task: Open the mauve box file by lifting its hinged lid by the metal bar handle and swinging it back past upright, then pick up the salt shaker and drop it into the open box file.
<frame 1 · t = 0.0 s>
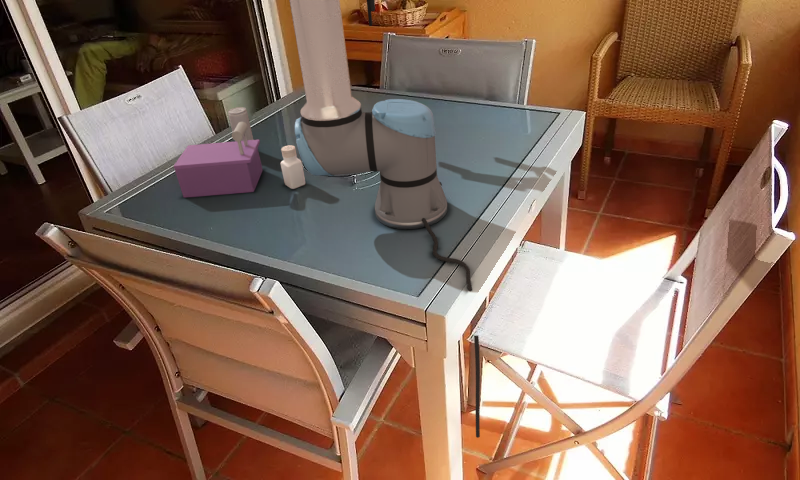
hand: (344, 27, 149), 28 cm above the table, tool pointing down, fingers open, 13 cm apart
beverage can: (247, 153, 156), on the table
file box: (224, 183, 141), on the table
salt shaker: (295, 185, 137), on the table
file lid: (215, 142, 135), point 11 cm above the table, hinge at 0.0°
pepper mill: (341, 127, 166), on the table
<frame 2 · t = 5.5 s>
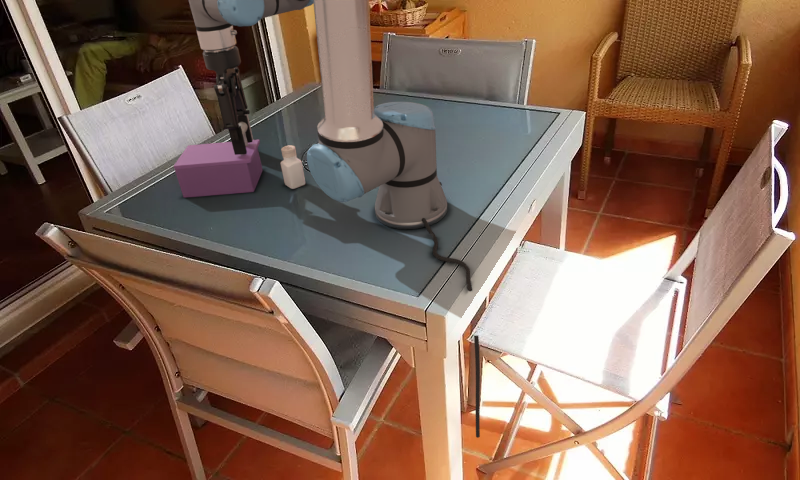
hand: (243, 147, 136), 9 cm above the table, tool pointing down, fingers closed on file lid, 6 cm apart
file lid: (215, 142, 135), point 11 cm above the table, hinge at 0.0°, touching gripper
everything else where it was.
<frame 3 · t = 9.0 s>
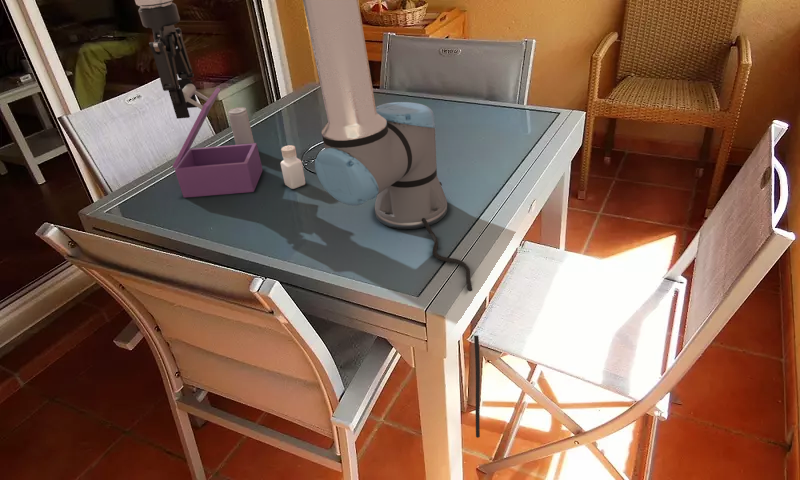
hand: (187, 112, 131), 19 cm above the table, tool pointing down, fingers closed on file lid, 6 cm apart
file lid: (184, 120, 132), point 17 cm above the table, hinge at 51.3°, touching gripper
everything else where it was.
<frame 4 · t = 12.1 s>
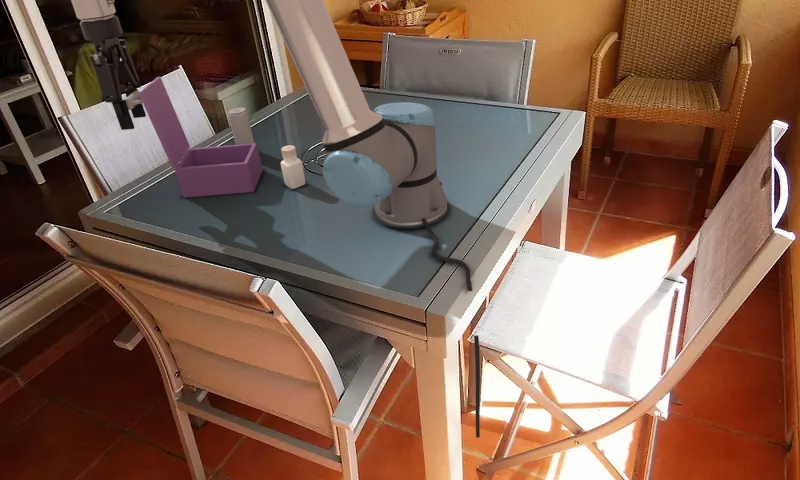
hand: (134, 122, 132), 17 cm above the table, tool pointing down, fingers open, 7 cm apart
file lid: (154, 124, 132), point 16 cm above the table, hinge at 96.7°
everything else where it was.
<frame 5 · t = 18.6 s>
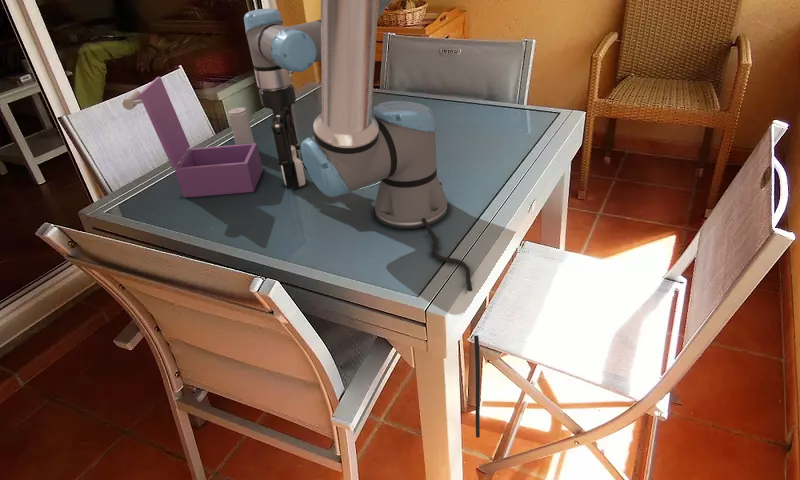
hand: (294, 182, 137), 1 cm above the table, tool pointing down, fingers closed on salt shaker, 5 cm apart
salt shaker: (295, 185, 137), on the table, touching gripper
everything else where it was.
when the fingers open (5 cm above the table, at t = 24.5 s): salt shaker drops 3 cm, resting on file box.
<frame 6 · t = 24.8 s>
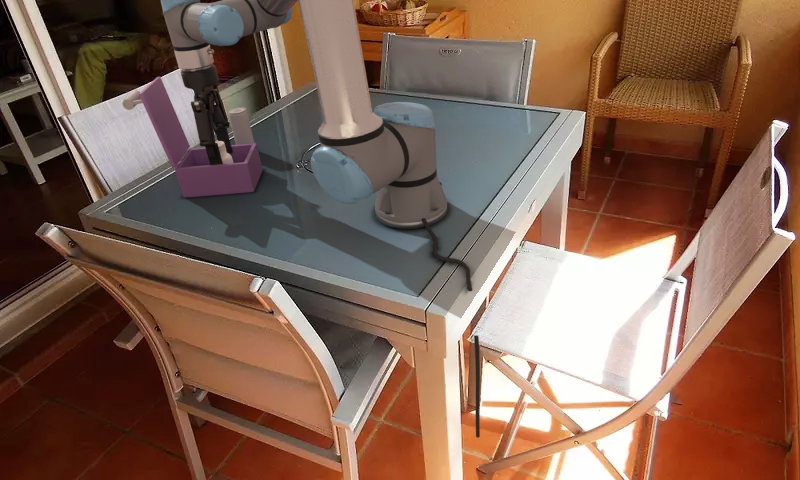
hand: (222, 161, 138), 6 cm above the table, tool pointing down, fingers open, 9 cm apart
salt shaker: (228, 180, 140), point 1 cm above the table, touching file box
everything else where it was.
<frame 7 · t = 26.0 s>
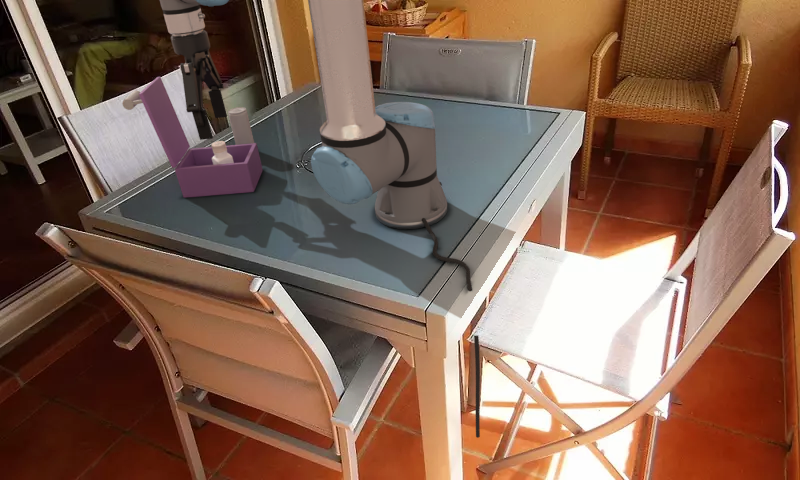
hand: (214, 127, 133), 14 cm above the table, tool pointing down, fingers open, 13 cm apart
nothing on the table moved.
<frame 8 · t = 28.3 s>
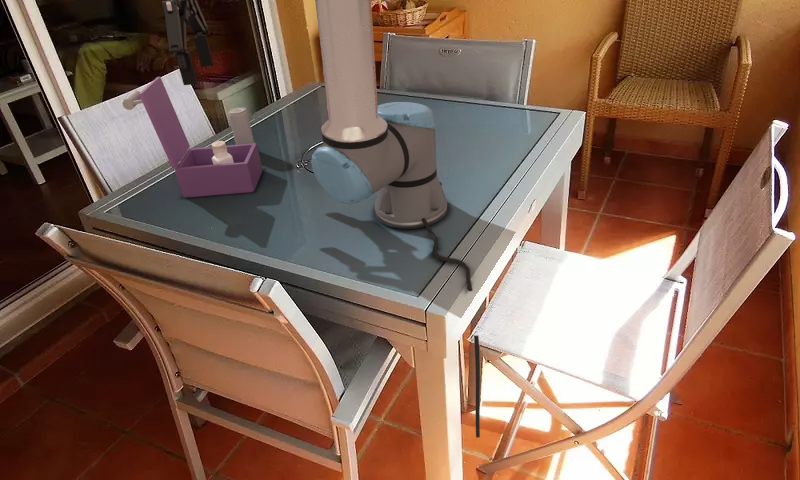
hand: (199, 74, 126), 27 cm above the table, tool pointing down, fingers open, 13 cm apart
nothing on the table moved.
at the end: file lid at +97° (first picture: +0°); salt shaker inside the target area in the file box (1.1 cm from its centre), point 0.7 cm above the file box's base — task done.
